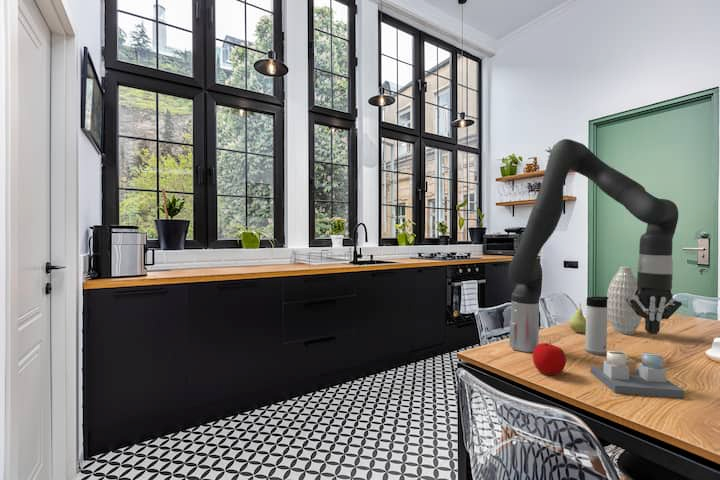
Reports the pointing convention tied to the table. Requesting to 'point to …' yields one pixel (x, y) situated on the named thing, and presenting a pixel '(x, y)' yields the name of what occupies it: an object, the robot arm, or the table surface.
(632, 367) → the trim pot
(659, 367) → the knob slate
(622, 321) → the vase
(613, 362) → the knob ivory
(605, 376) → the plate
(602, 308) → the travel mug
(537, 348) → the fruit
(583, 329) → the fruit
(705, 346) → the table surface
